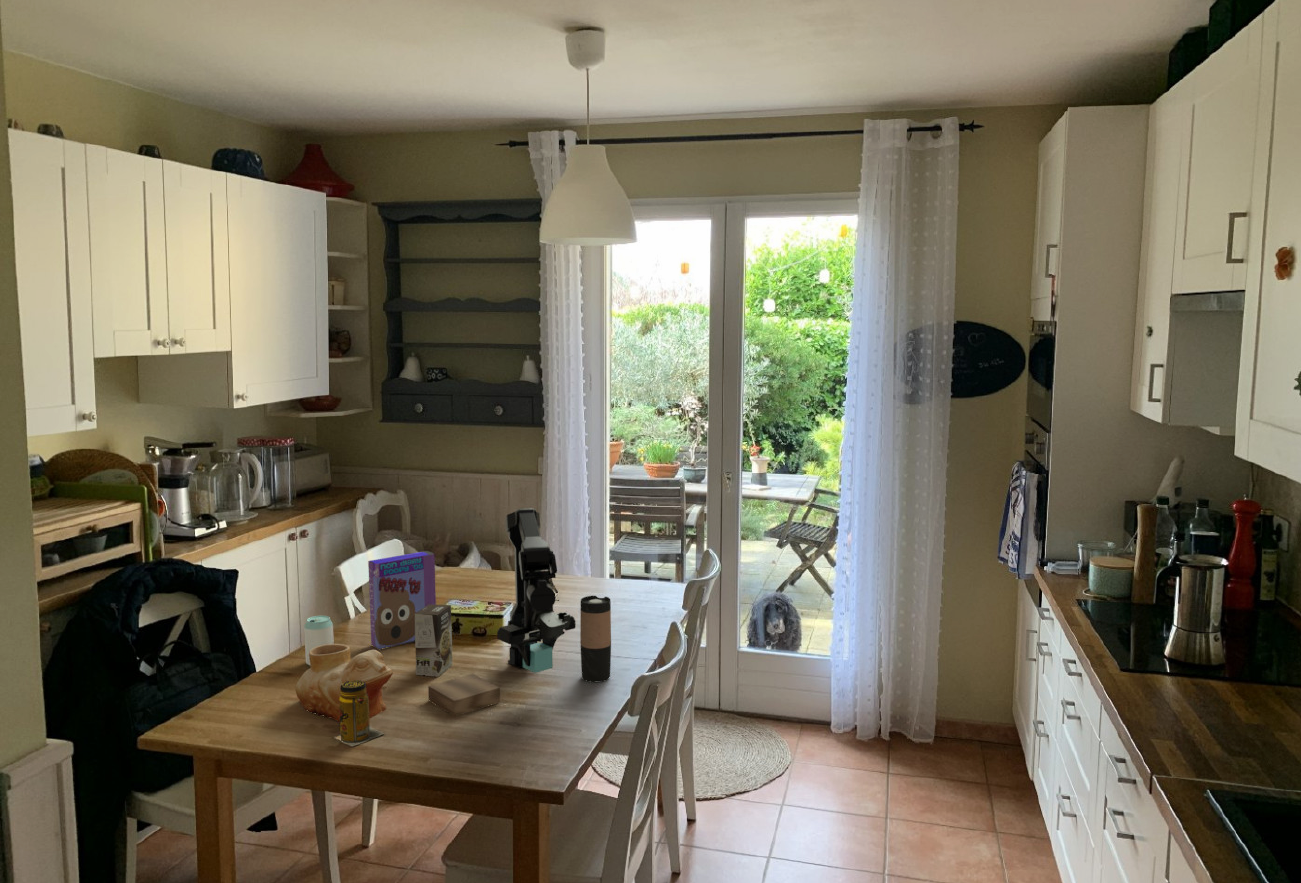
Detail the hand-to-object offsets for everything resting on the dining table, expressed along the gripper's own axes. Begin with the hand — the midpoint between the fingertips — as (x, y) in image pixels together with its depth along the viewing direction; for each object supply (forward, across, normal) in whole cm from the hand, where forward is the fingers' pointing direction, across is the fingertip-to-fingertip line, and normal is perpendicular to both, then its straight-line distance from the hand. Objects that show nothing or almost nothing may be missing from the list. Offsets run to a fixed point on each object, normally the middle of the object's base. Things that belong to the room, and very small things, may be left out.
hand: (537, 663), depth 231 cm
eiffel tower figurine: (+9, +53, +71) cm, 89 cm away
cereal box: (+9, -4, +59) cm, 60 cm away
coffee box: (+9, -9, +33) cm, 35 cm away
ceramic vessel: (+9, -37, +24) cm, 45 cm away
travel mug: (+9, +19, +2) cm, 21 cm away
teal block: (+1, 0, 0) cm, 1 cm away
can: (+9, -29, +57) cm, 65 cm away
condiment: (+9, -41, +8) cm, 43 cm away
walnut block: (+9, -14, +10) cm, 20 cm away
